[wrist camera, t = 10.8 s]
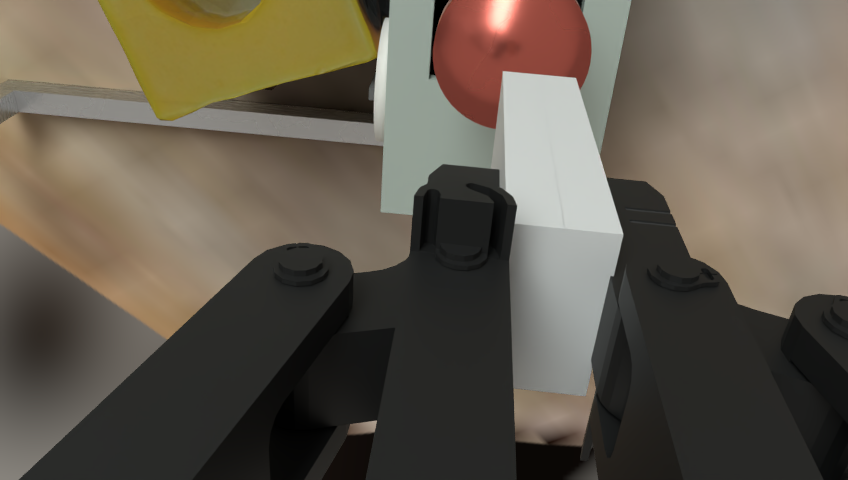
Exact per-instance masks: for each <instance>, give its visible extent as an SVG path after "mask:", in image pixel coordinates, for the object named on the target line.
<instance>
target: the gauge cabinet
mask: <svg viewBox="0 0 848 480" xmlns="http://www.w3.org/2000/svg"><path fill="white" fill-rule="evenodd" d="M576 1H577V2H578V4H579V7H580V9H581V11H582V13H583V15H584V17H585V19H586V22H587V24H588V28H589V31H590V37H591V47H592V54H591V62H590V67H589V71H588V74H587V77H586V79H585V82H584V84H583V86H582V88H581V89H580V93H581V96H582V99H583V103H584V106H585V109H586V113H587V116H588V119H589V122H590V126H591V129H592V132H593V136H594V139H595V142H596V146H597V149H598V152H599V155H600V152H601V147H602V142H603V137H604V133H605V128H606V123H607V118H608V113H609V108H610V103H611V98H612V93H613V88H614V83H615V79H616V74H617V69H618V64H619V59H620V54H621V49H622V44H623V39H624V34H625V29H626V25H627V20H628V15H629V10H630V5H631V0H576ZM434 9H435V0H390V9H389V18H387V17H386V18H385V20H384V22H383V26H382V30H381V35H380V41H379V48H378V56H377V65H376V73H375V75H374V78H373V80H372V82H371V84H370V87H369V100H374V133H375V139H376V141H381V142H384V146H383V169H382V192H381V212H386V213H396V214H407V215H413V203H414V195H415V193H416V192H417V190H418V189H419V188H420V187H421V186H423V185H425V184H427V182H428V177H429V175H430V174H431V173H432V172H433V171H435V170H436V169H437V168H439V167H440V166H441V165H442V164H448V165H459V166H469V167H479V168H489V169H491V163H492V155H493V147H494V139H495V131H496V129H492V128H488V127H485V126H482V125H480V124H477V123H475V122H473V121H471V120H470V119H468V118H466V117H465V116H463V115H462V114H461V113H460V112H458V111H457V110H456V109H455V108H454V107H453V106H452V105H451V104H450V102H449V101H448V100H447V98H446V97H445V95H444V94H443V92H442V90H441V88H440V86H439V84H438V81H437V79H436V75H430V63H431V50H432V36H433V23H434Z"/></svg>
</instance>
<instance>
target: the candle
mask: <svg viewBox="0 0 848 480" xmlns="http://www.w3.org/2000/svg"><path fill="white" fill-rule="evenodd" d="M98 2H99V4H100V5H101V7H102V9H103V11H104V13H105V15H106V17H107V19H108V21H109V23H110V25H111V27H112V29H113V31H114V32H115V34H116V36H117V38H118V40H119V42H120V44H121V46H122V48H123V50H124V52H125V54H126V56H127V58H128V60H129V62H130V65H131V67H132V69H133V71H134V73H135V75H136V78H137V80H138V82H139V84H140V86H141V88H142V90H143V92H144V94H145V96H146V98H147V100H148V102H149V104H150V106H151V108H152V110H153V112H154V113H155V115H156V117H157V118H158V119H159V120H162V121H174V120H176V119H178V118H181V117H183V116H186V115H188V114H191V113H193V112H195V111H197V110H199V109H201V108H203V107H205V106H207V105H209V104H211V103H213V102H218V101H223V100H227V99H232V98H236V97H239V96H242V95H245V94H248V93H251V92H254V91H258V90H261V89H265V90H272V89H274V88H275V87H276V86H277V85H278V84H282V83H285V82H290V81H294V80H298V79H302V78H306V77H310V76H315V75H320V74H325V73H329V72H332V71H336V70H339V69H343V68H347V67H350V66H354V65H358V64H362V63H366V62H369V61H371V60H373V59H375V58H377V56H378V48H379V41H380V35H381V30H382V26H383V22H384V20H385V18H386V17H387V18H389V9H390V0H98Z"/></svg>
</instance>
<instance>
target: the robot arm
mask: <svg viewBox="0 0 848 480" xmlns="http://www.w3.org/2000/svg"><path fill="white" fill-rule="evenodd" d="M592 368H593V374H594V380H595V386H596V391H595V396H594V400H593V404H592V408H591V412H590V416H589V420H588V424H587V428H586V433H585V437H584V441H583V445H582V450H581V456H580V460H583V461H588V458H589V454H590V450H591V448H593V447H594V454H595V460H596V467H597V473H598V480H848V297H846V296H841V295H824V294H817V295H811V296H806V297H803V298H802V299H801V300H799V301H798V302H797V303H796V304H795V306H794V308H793V311H792V313H791V316H790V318H789V319H786V318H782V317H779V316H775V315H772V314H768V313H765V312H761V311H758V310H754V309H751V308H748V307H745V306H742V305H739V304H737V302H736V300H735V298H734V296H733V294H732V292H731V290H730V288H729V286H728V283H727V282H726V281H725V280H724V278H723V277H722V276H721V275H720V274H719V272H717V271H716V270H714V269H713V268H711V267H710V266H708V265H707V264H705V263H703V262H701V261H698V260H696V259H693V258H691V257H690V255H689V253H688V250H687V248H686V246H685V244H684V241H683V239H682V237H681V234H680V232H679V230H678V228H677V227H676V223H675V221H674V219H673V216H672V214H670V209H669V207H668V205H667V203H666V200H665V198H664V196H663V195H662V194H660V193H659V192H658V191H657V190H655V189H654V188H653V187H652V186H650V185H649V184H648V183H647V182H644V181H634V180H623V179H613V178H606V175H605V172H604V169H603V165H602V162H601V159H600V155H599V152H598V149H597V146H596V142H595V139H594V136H593V132H592V129H591V126H590V122H589V119H588V116H587V113H586V109H585V106H584V103H583V99H582V96H581V93H580V89H579V86H578V83H577V80H576V78H571V77H561V76H550V75H539V74H528V73H518V72H507V71H503V75H502V83H501V91H500V99H499V107H498V115H497V123H496V131H495V139H494V147H493V155H492V163H491V169H489V168H479V167H469V166H459V165H448V164H442V165H441V166H440V167H439V168H437V169H436V170H435V171H433V172H432V173H431V174H430V175H429V177H428V182H427V184H425V185H423V186H421V187H420V188H419V189H418V190H417V192H416V193H415V195H414V203H413V218H412V232H411V246H410V254H409V257H408V258H407V259H406V260H405V261H403V262H401V263H399V264H398V265H396V266H393V267H390V268H387V269H384V270H378V271H371V272H362V273H354V271H353V268H352V265H351V262H350V260H349V259H348V258H346V257H345V256H344V255H343V254H342V253H340V252H339V251H336V250H334V249H331V248H328V247H325V246H322V245H314V244H309V243H298V244H296V243H293V244H286V245H283V246H279V247H276V248H273V249H269V250H267V251H265V252H263V253H262V254H260V255H259V256H257V257H256V258H254V259H253V260H252V261H251V262H250V263H249V264H248V265H247V266H246V267H244V268H243V269H242V270H241V271H240V272H239V273H238V274H237V275H236V276H235V277H234V278H233V279H232V280H231V281H230V282H229V283H227V284H226V285H225V286H224V287H223V288H222V289H221V290H220V291H219V292H218V293H217V294H216V295H215V296H214V297H213V298H212V299H210V300H209V301H208V302H207V303H206V304H205V305H204V306H203V307H202V308H201V309H200V310H199V311H198V312H197V313H196V314H195V315H193V316H192V317H191V318H190V319H189V320H188V321H187V322H186V323H185V324H184V325H183V326H182V327H181V328H180V329H179V330H178V331H176V332H175V333H174V334H173V335H172V336H171V337H170V338H169V339H168V340H167V341H166V342H165V343H164V344H163V345H162V346H161V347H160V348H158V349H157V350H156V351H155V352H154V353H153V354H152V355H151V356H150V357H149V358H148V359H147V360H146V361H145V362H144V363H142V364H141V366H139V367H138V368H137V369H136V370H135V371H134V372H133V373H132V374H131V375H130V376H129V377H128V378H127V379H126V380H124V381H123V382H122V383H121V385H119V386H118V387H117V388H116V389H115V390H114V391H113V392H112V393H111V394H110V395H108V396H107V397H106V398H105V399H104V400H103V401H102V402H101V403H100V404H99V405H98V406H97V407H96V408H95V409H94V410H93V411H91V412H90V414H88V415H87V416H86V417H85V418H84V419H83V420H82V421H81V422H80V423H79V424H78V425H77V426H76V427H75V428H73V429H72V430H71V431H70V432H69V433H68V434H67V435H66V436H65V437H64V438H63V439H62V440H61V441H60V442H59V443H57V444H56V445H55V446H54V447H53V448H52V449H51V450H50V451H49V452H48V453H47V454H46V455H45V456H44V457H43V458H42V459H40V460H39V461H38V462H37V463H36V464H35V465H34V466H33V467H32V468H31V469H30V470H29V471H28V472H27V473H26V474H25V475H23V477H21V478H20V479H19V480H321V479H322V477H323V476H324V474H325V472H326V471H327V469H328V467H329V466H330V464H331V462H332V460H333V459H334V457H335V455H336V454H337V452H338V450H339V448H340V447H341V445H342V444H343V442H344V440H345V439H346V436H347V433H348V429H349V426H350V424H354V423H361V422H368V421H375V420H377V424H376V429H375V435H374V440H373V445H372V450H371V455H370V460H369V466H368V471H367V476H366V480H516V455H515V454H516V453H515V423H514V393H513V388H515V389H524V390H534V391H543V392H552V393H561V394H570V395H579V396H586V392H587V388H588V384H589V380H590V375H591V371H592Z"/></svg>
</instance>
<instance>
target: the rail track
mask: <svg viewBox="0 0 848 480" xmlns="http://www.w3.org/2000/svg"><path fill="white" fill-rule="evenodd" d="M18 112H25V113H35V114H46V115H57V116H68V117H78V118H89V119H100V120H110V121H121V122H132V123H142V124H153V125H164V126H174V127H185V128H196V129H207V130H217V131H228V132H239V133H249V134H260V135H271V136H281V137H292V138H303V139H314V140H324V141H335V142H346V143H356V144H367V145H378V146H384V142H381V141H376V139H375V133H374V113H365V112H355V111H344V110H333V109H322V108H311V107H300V106H289V105H279V104H268V103H257V102H246V101H235V100H223V101H218V102H213V103H211V104H209V105H207V106H205V107H203V108H201V109H199V110H197V111H195V112H193V113H191V114H188V115H186V116H183V117H181V118H178V119H176V120H174V121H162V120H159V119H158V118H157V117H156V115H155V113H154V112H153V110H152V108H151V106H150V104H149V102H148V100H147V98H146V96H145V94H144V92H138V91H127V90H116V89H105V88H94V87H83V86H72V85H62V84H51V83H40V82H29V81H18V80H7V81H5V82H3V83H1V84H0V124H1V123H2V122H4V121H6V120H7V119H9V118H10V117H12V116H14V115H15V114H17V113H18Z"/></svg>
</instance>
